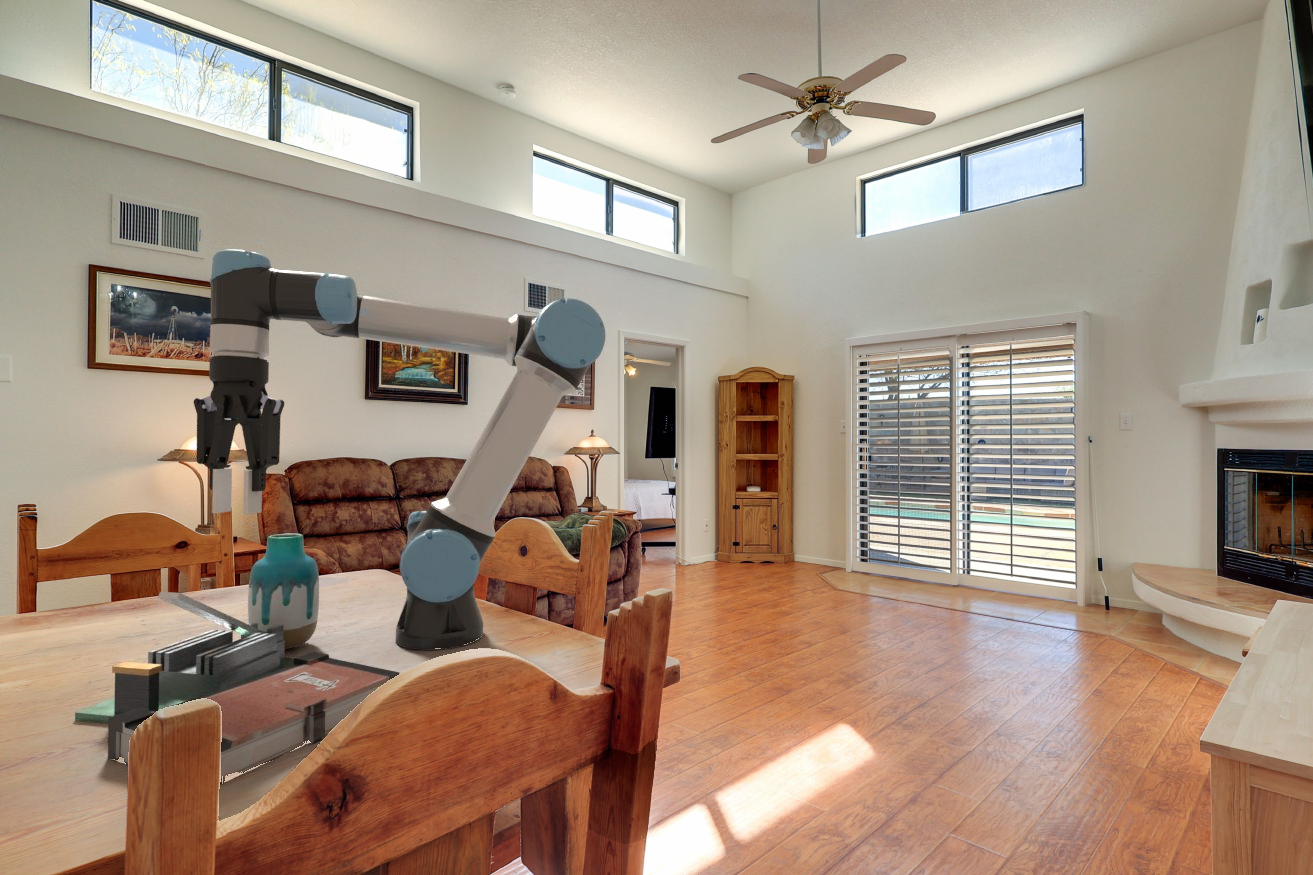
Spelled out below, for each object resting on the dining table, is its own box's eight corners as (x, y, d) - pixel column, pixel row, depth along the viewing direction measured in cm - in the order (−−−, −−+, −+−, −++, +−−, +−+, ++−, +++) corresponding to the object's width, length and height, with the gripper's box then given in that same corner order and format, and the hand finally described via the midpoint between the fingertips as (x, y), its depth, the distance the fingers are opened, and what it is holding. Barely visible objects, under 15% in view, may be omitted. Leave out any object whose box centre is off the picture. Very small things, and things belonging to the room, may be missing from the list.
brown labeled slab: (207, 799, 67) (208, 749, 67) (107, 762, 74) (108, 717, 74) (403, 706, 91) (403, 669, 91) (313, 685, 98) (314, 651, 98)
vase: (268, 661, 106) (270, 542, 106) (234, 649, 112) (236, 536, 112) (331, 645, 115) (332, 534, 115) (296, 634, 121) (298, 529, 121)
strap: (269, 640, 104) (271, 635, 105) (177, 598, 88) (180, 592, 88) (252, 639, 105) (254, 634, 105) (157, 597, 88) (160, 591, 89)
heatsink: (311, 665, 105) (311, 621, 105) (178, 730, 81) (179, 673, 81) (227, 658, 108) (228, 615, 108) (75, 720, 84) (76, 664, 84)
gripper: (309, 359, 102) (307, 512, 102) (209, 360, 105) (206, 508, 105) (273, 353, 94) (270, 517, 94) (166, 354, 97) (163, 513, 97)
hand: (237, 512), depth 99 cm, fingers open, 4 cm apart
